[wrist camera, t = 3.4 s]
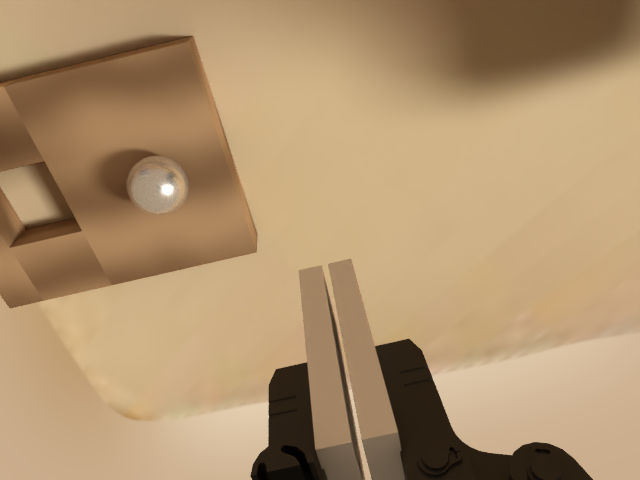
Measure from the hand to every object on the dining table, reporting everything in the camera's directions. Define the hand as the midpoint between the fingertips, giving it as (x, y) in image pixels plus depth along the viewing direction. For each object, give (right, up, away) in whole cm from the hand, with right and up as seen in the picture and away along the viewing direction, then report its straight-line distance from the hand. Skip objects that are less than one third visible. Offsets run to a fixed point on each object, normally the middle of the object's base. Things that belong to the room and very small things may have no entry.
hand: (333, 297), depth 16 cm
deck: (-15, +6, +16) cm, 23 cm away
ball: (-10, +6, +14) cm, 18 cm away
